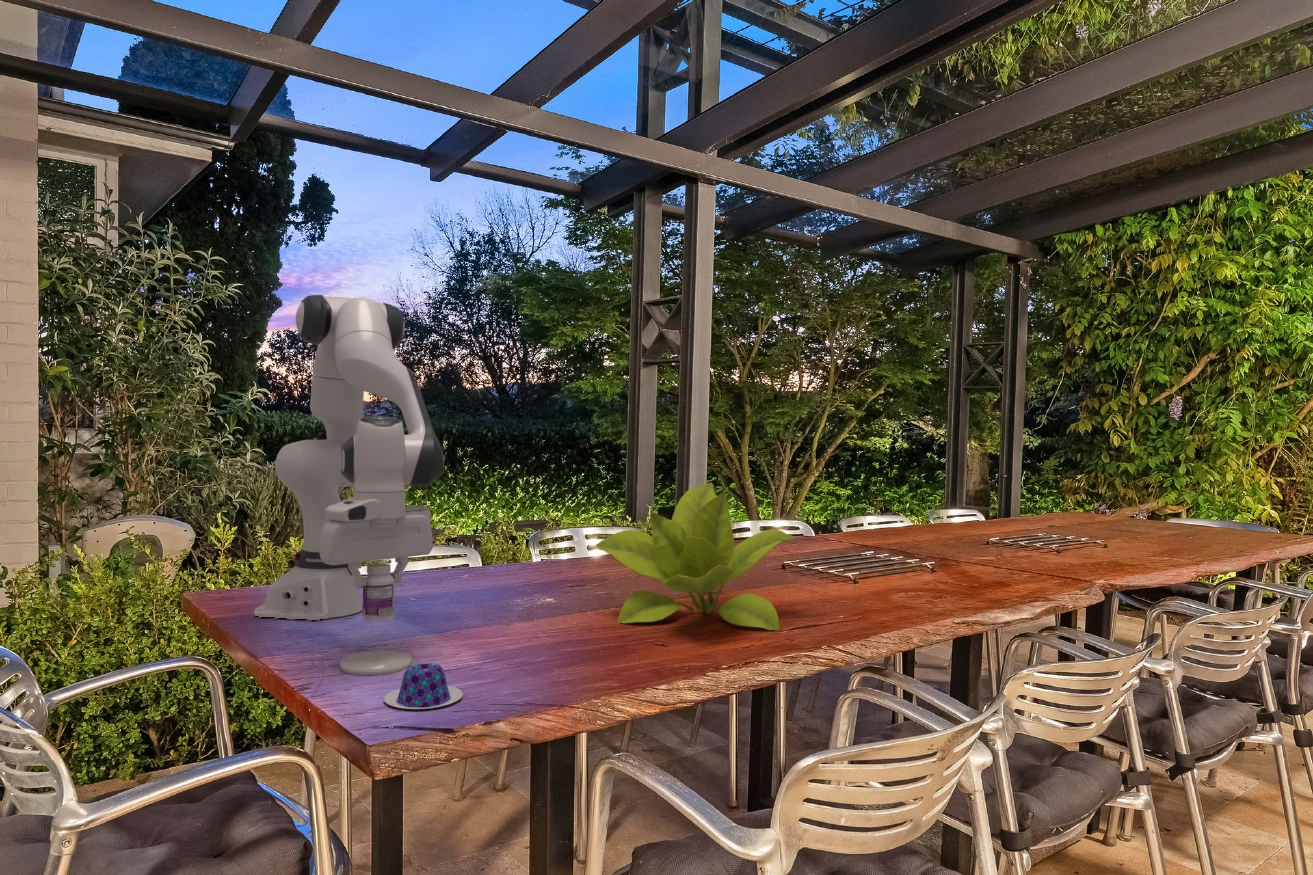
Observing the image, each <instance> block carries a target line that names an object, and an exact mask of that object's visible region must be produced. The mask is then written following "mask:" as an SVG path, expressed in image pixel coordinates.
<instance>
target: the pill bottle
mask: <svg viewBox="0 0 1313 875" xmlns="http://www.w3.org/2000/svg"><path fill="white" fill-rule="evenodd" d="M391 566H392V565H391V564H390V563H381V562H380V563H373V564H372V563H370V564H367V565H366V573H367V575H366V577H367V582H366V583H367V587H363V588H362V618H363V620H364V621H366V622H369V623H370V622H371V623H377V622H378V623H379V622H380V623H381V622H386V621H390V620H393V619H394V618H395V583H394V578H393V577H392V576H391V575H390V572H392V571H391Z"/></svg>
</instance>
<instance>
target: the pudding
mask: <svg viewBox="0 0 1313 875" xmlns="http://www.w3.org/2000/svg"><path fill="white" fill-rule="evenodd" d="M463 694H464V692H463V691H462V690H461V689H460V688H457V687H455V686H452V685H448V681H447V677H446V674H445V670H444V668H443V666H442V665H440V664H437V663H435V664H434V663H431V662H430V663H429V662H428V663H417V664H416V663H415V664H414V665H411V666H410V667H408V668H407V669H405V671H404V673H403V677H402V681H401V685H400V688H396V689H394V690H393V691H390V692H388V693H387V694H386V695H385V696H383V701H384V703H386V704H387V705H389V706H392V707H395V708H398V709H405V710H426V709H435V708H441V707H444V706H447V705H448V706H449V705H451V704H453V703H455V702H458V701H459V700H460V699H461V698H462V697H463ZM397 697H398V698H397ZM395 699H396V700H395ZM446 701H447V702H446Z"/></svg>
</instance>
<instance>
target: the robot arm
mask: <svg viewBox="0 0 1313 875" xmlns="http://www.w3.org/2000/svg"><path fill="white" fill-rule="evenodd" d="M295 325H296V326H295V327H296V329H297V334H298V336H299V337H300V338H301V340H302V341H304V342H306V343H309V344H312V345H315V346H317V348H316V349H317V350H316V353H315V358H314V363H313V369H312V378H311V391H310V403H309V409H310V412H311V414H312V416H314V417H315V419H317V420H318V421H320V422H322V424H323V425H324V429H325V431H326V432H325V434H326V439H303V440H300V441H299V440H298V441H294V442H291V443H288V444H285V445H284V446H282V447H281V448H280V450H279V451H278V453H277V455H276V458H275V462H274V463H275V465H274V466H275V467H274V468H275V473H276V476H277V478H278V479H279V481H280V482H281V483H282V484H283V485H284V486H285V487H286V488H288V489H289V490H290V491H291V492H292V493H293V496H295V498H296V500H297V502H298V505H299V507H300V510H301V514H302V522H303V523H302V524H303V548H302V549H300V550H298V551H297V552H296V553H294V555H292V557H293V558H292V561H294V565H295V566H293V567H292V568H291V569H290V570H288V571H286V572H285V573H284V574H283V575H282V576H280V577H279V578H278V579H276V580H275V581H274V582H272V583H271V584H270V585H269V587H268V588H267V592H266V596H265V601H264V603H263V604H261V605H259V606H258V607H256V608H255V609H254V611H253V616H254V615H255V616H259V617H258V618H261V617H276V618H275V619H278V618H287V619H286V620H295V619H307V620H306V621H312V620H316V621H321V620H320V619H323V620H326V619H327V620H328V619H333V618H339V617H346V616H350V615H354V614H357V613H359V612H361V611H363V605H362V604H361V598H360V594H359V589H361V588H362V589H363V587H367V583H366V582H367V576H363V575H362V573H361V571H360V569H362V563H364V562H365V563H367V562H375V561H384V560H385V561H386V560H392V559H394V562H395V563H396V566H395V568H394V570H393V571H390V573H389V575H391V576H392V577H393V578H394V584H396V583H397V584H398V583H402V581H403V573H404V571H405V569H406V567H407V565H408V564H409V557H410V558H411V557H418V556H428V555H429V554H430V553H431V552H432V550H433V544H434V543H433V532H432V525H431V522H432V513H431V511H430V509H429V508H428V507H427V506H425V505H424V504H416V505H406V486H410V487H420V488H428V487H429V486H430V485H432V484H434V483H435V482H436V481H437V480H438V479H439V478H440V477H441V476H442V474H443V471H444V465H445V458H444V452H443V448H442V445H441V443H440V440H439V438H438V437H437V434H436V433H435V431H434V428H433V424H432V422H431V418H430V416H429V413H428V410H427V406H426V404H425V401H424V398H423V395H422V392H421V389H420V386H419V384H418V381H417V378H416V377H415V374H414V372H413V371H412V369H410V368H409V367H407V366H406V365H404V364H403V363H402V362H401V361H400V359H399V358H398V357H397V355H396V354H395V351H394V349H396V348H397V347H399V346H400V344H401V341H402V340H403V336H404V335H405V321H404V316H403V313H402V311H401V310H400V308H398V307H397V306H395V305H393V304H390V303H387V302H383V303H380V302H377V301H375V300H372V299H370V298H366V297H353V298H352V297H345V296H324V294H312V295H307V296H305V297H304V298H303V299H302V300H301V301H300V303H299V306H298V308H297V310H296V314H295ZM365 392H366V393H369V394H372V395H375V396H378V397H381V398H384V399H386V400H388V401H390V402H392V403H393V404H395V405H396V406H397V407H398V408H399V409H400V410H401V412H402V417H403V420H404V422H405V425H406V429H407V433H408V434H405V432H404V431H405V430H404V425H403V422H402V420H400V419H398V418H397V417H393V416H388V415H368V416H364V399H365V398H364V396H365ZM349 487H350V488H352V487H353V490H352V491H353V492H352V495H353V496H351V497H349V498H347V499H344V500H342V499H341V497H340V494H339V488H349ZM255 616H254V617H255Z"/></svg>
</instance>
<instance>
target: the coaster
mask: <svg viewBox="0 0 1313 875" xmlns="http://www.w3.org/2000/svg"><path fill="white" fill-rule="evenodd" d="M339 665H340V666H339V668H340V671H341V670H342V671H341V672H343V673H345V672H346V673H345V674H348V673H349V675H353V676H363V675H367V676H368V675H370V676H382V675H383V676H384V675H389V674H394V673H395V674H396V673H398V672H402V671H404V670H405V671H406V669H407V668H408V667H410V666H412V656H411V655H410V654H408V653H406V652H400V651H394V650H375V651H374V650H372V651H364V652H359V653H355V654H351V655H348V656H346V657H344V658H341V660H340V662H339Z"/></svg>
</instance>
